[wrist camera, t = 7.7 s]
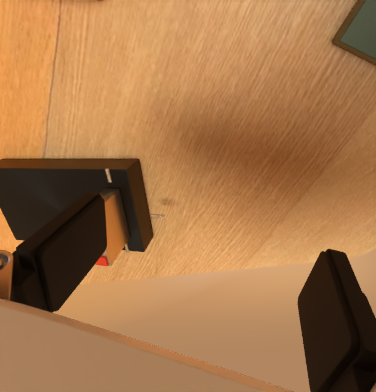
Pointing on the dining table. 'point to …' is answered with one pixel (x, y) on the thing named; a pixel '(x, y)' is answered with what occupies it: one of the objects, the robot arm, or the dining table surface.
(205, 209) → the dining table surface
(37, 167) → the dial panel
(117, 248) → the tan block
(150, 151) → the dining table surface
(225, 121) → the dining table surface
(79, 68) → the dining table surface
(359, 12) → the button block
